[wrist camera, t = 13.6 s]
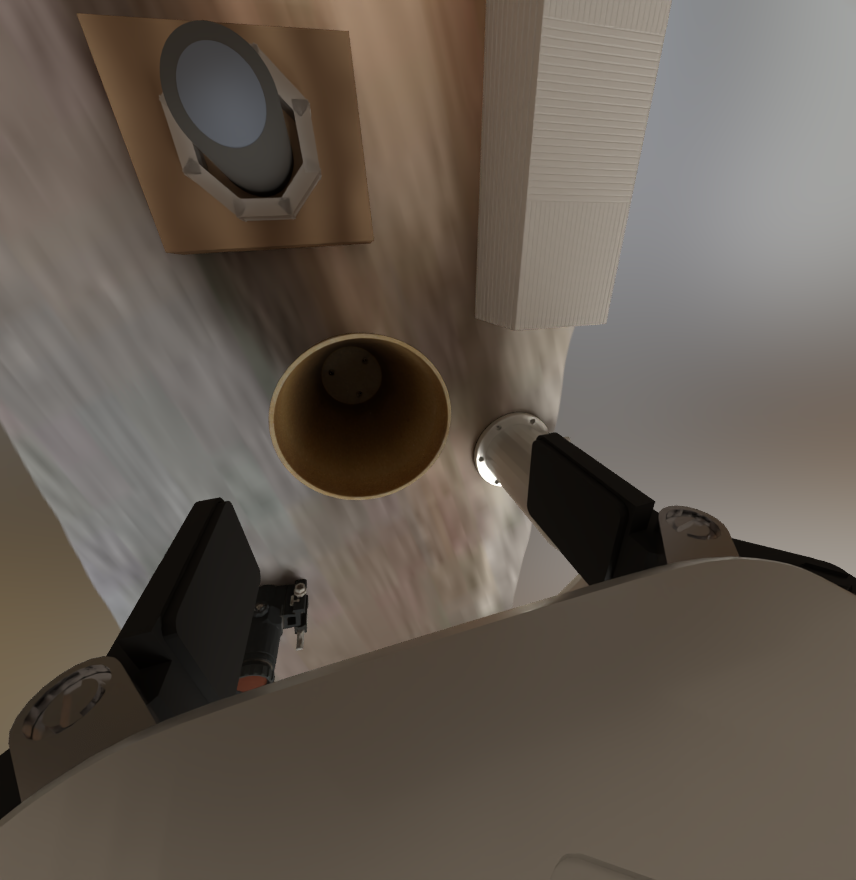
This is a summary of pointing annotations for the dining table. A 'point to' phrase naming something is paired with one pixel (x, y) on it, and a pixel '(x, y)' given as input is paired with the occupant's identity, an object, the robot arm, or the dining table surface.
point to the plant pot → (359, 416)
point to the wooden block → (200, 181)
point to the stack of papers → (560, 153)
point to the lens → (227, 105)
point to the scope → (272, 631)
